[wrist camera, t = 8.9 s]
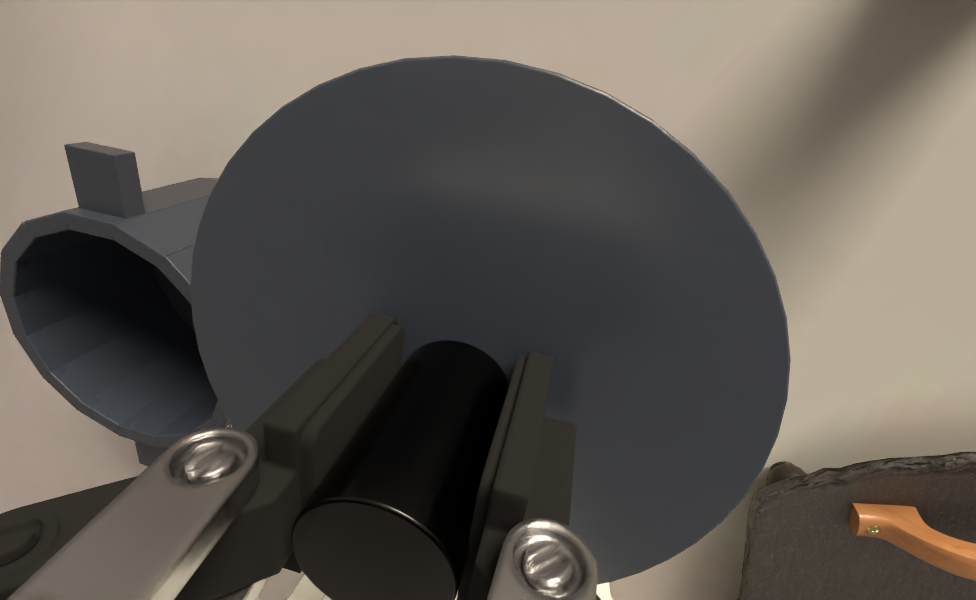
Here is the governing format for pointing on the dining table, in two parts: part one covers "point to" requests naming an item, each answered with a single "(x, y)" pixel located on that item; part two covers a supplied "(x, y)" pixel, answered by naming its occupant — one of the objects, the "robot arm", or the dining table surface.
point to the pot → (115, 301)
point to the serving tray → (864, 532)
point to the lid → (493, 311)
